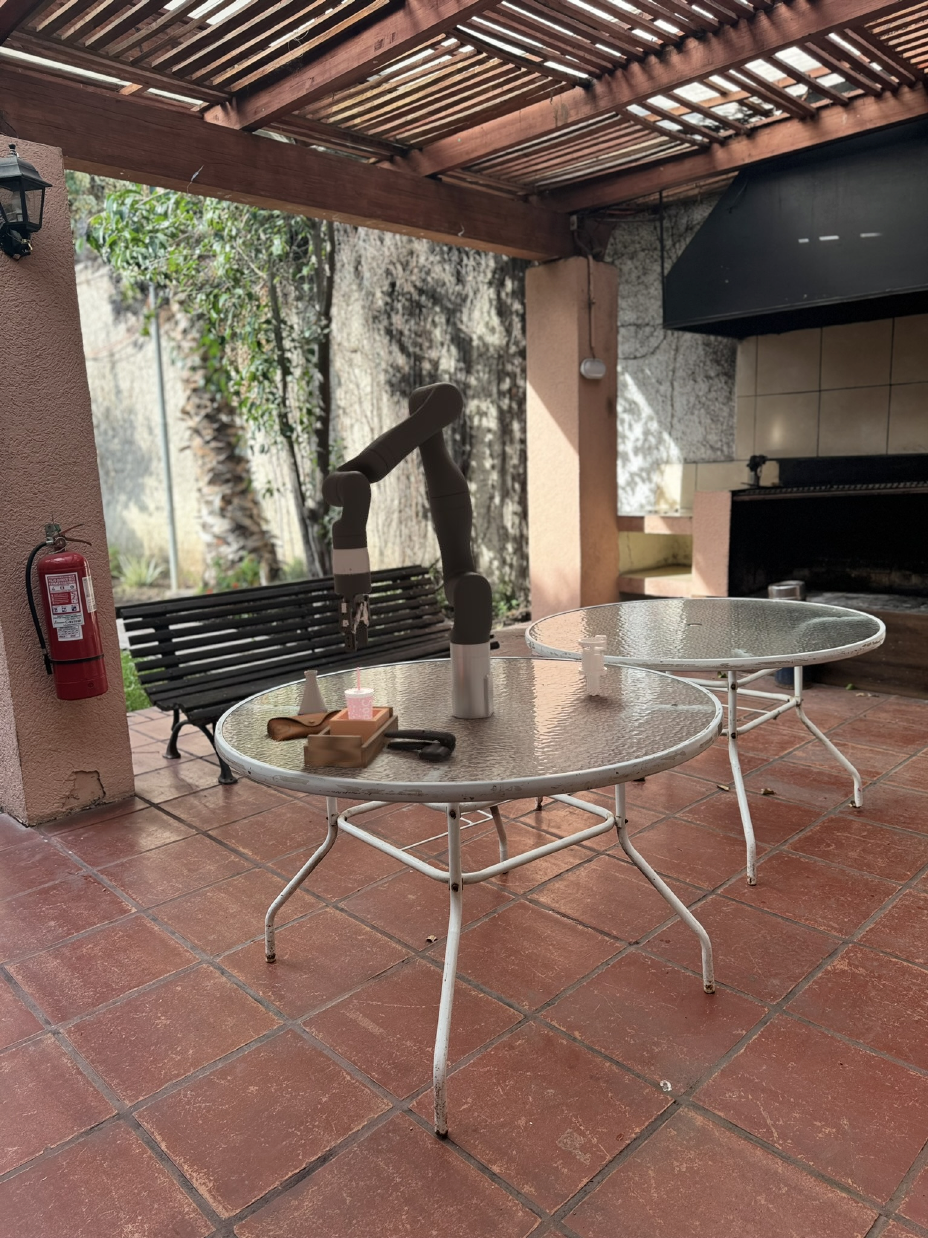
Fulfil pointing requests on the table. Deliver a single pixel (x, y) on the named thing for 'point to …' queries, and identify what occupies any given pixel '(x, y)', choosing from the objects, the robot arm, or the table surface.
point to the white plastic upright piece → (593, 660)
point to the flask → (312, 696)
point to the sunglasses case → (299, 725)
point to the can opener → (424, 743)
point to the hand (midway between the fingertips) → (357, 648)
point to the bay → (348, 746)
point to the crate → (359, 724)
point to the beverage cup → (359, 701)
